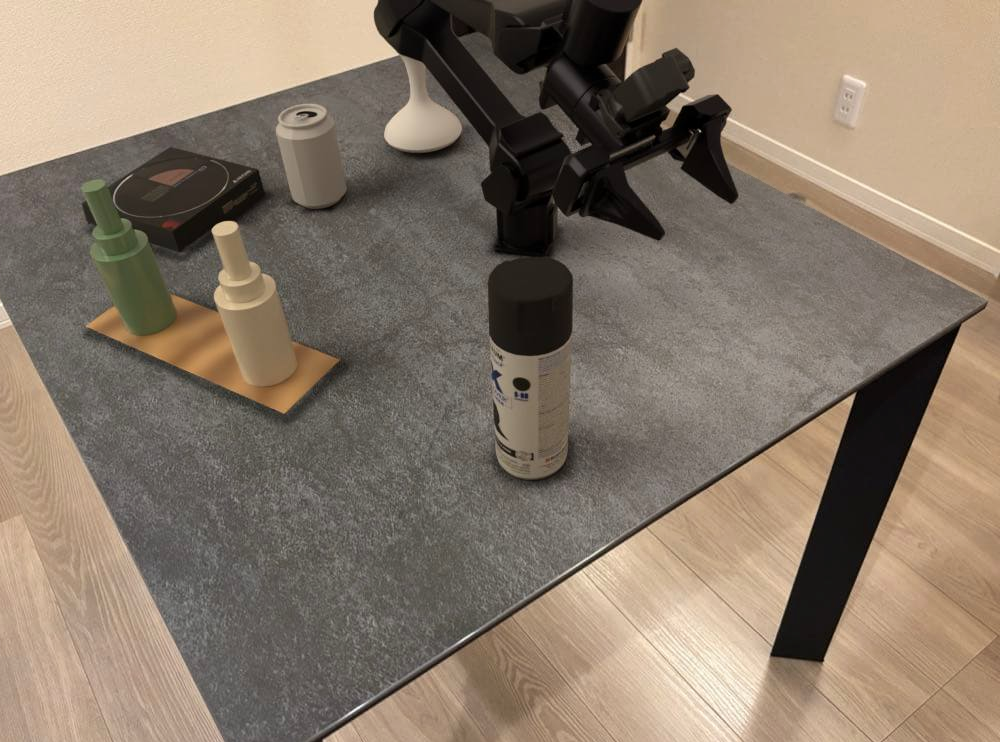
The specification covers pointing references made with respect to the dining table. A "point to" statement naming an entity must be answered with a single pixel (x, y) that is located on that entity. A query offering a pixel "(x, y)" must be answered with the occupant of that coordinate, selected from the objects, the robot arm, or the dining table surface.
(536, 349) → the spray can
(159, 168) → the portable cd player
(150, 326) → the green bottle
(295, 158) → the can
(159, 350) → the board
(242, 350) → the cream bottle
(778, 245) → the dining table surface
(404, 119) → the flower in vase
